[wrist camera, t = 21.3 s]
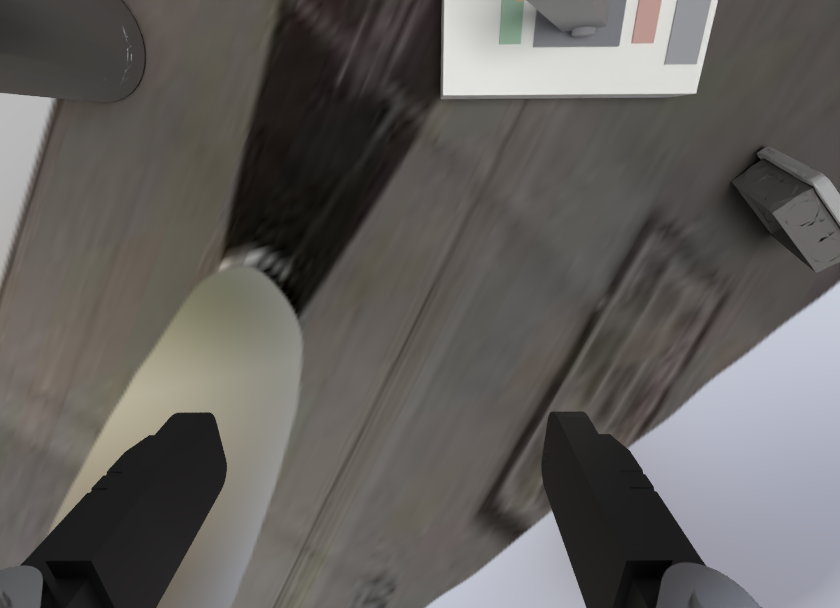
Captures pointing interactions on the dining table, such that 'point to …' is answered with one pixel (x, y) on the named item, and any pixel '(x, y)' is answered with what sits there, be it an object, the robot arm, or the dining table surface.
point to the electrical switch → (795, 206)
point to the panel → (573, 51)
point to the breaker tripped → (574, 14)
